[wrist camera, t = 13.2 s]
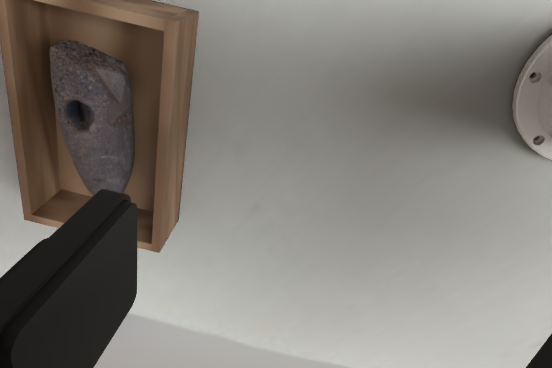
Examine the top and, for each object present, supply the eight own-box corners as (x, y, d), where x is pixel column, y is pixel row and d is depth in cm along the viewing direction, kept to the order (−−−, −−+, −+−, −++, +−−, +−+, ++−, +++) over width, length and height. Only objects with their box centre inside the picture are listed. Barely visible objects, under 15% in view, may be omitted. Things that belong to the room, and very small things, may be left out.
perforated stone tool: (149, 187, 43) (118, 226, 37) (100, 180, 44) (62, 217, 38) (138, 37, 36) (98, 55, 30) (79, 29, 36) (28, 46, 30)
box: (198, 11, 35) (175, 22, 30) (178, 220, 46) (159, 252, 41) (40, -26, 35) (-9, -22, 30) (57, 190, 46) (24, 219, 41)
